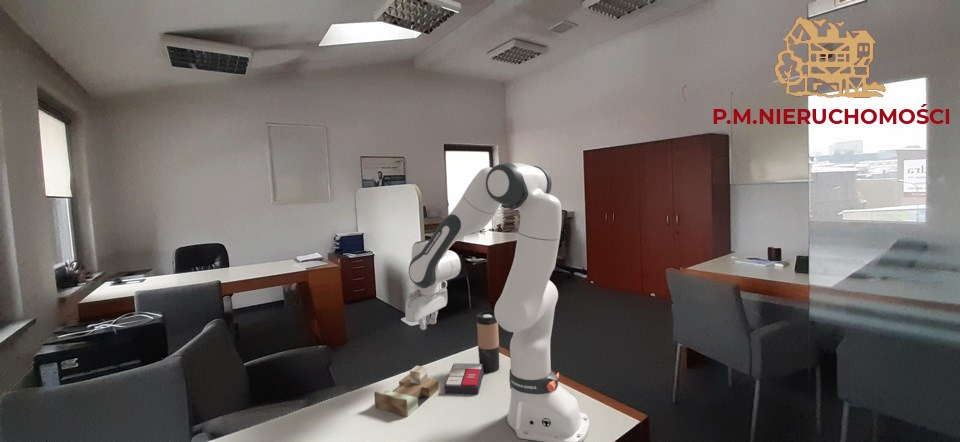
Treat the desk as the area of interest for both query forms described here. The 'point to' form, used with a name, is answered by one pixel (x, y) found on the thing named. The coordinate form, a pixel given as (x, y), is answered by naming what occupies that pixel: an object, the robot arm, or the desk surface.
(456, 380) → the red and grey box
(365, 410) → the desk surface
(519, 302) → the robot arm
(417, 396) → the stacked wooden blocks
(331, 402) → the desk surface
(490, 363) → the travel mug
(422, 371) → the block
